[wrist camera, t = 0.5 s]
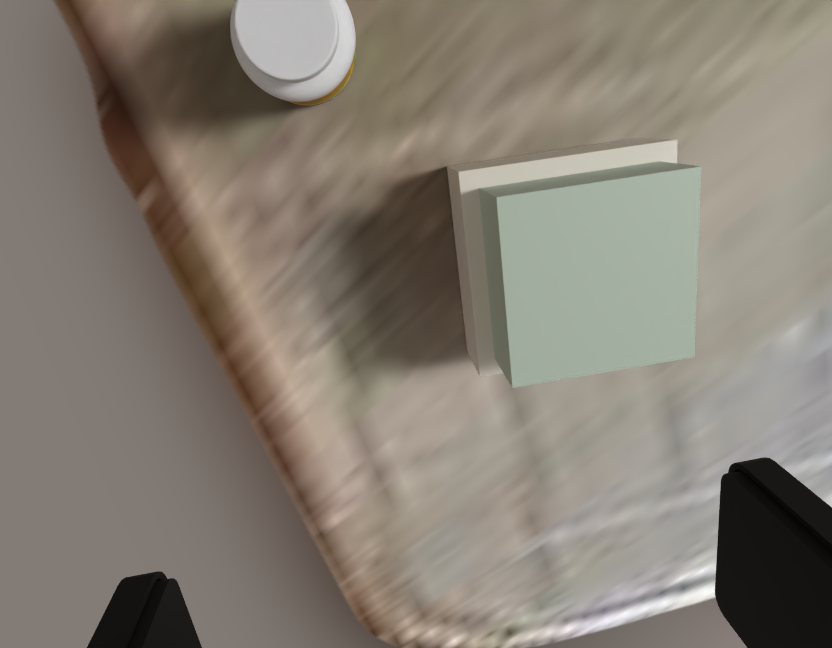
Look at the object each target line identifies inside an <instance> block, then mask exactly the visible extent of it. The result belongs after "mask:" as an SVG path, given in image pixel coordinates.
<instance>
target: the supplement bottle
mask: <svg viewBox="0 0 832 648" xmlns="http://www.w3.org/2000/svg"><path fill="white" fill-rule="evenodd" d="M230 33H231V41H232V45H233V49H234V52H235V55H236V57H237V59H238V61H239V63H240V65H241V67H242V69H243V70H244V71H245V73H246V74H247V75H248V77H249V78H250V79H251V80H252V81H253V82H254V83H255V84H256V85H257V86H258V87H260V88H261V89H262V90H264V91H265V92H267V93H268V94H270V95H272V96H274V97H276V98H278V99H281V100H284V101H288V102H291V103H294V104H297V105H303V106H313V105H319V104H322V103H325V102H327V101H329V100H331V99H333V98H334V97H336V96H337V95H338V94H339V93H340V92H341V91H342V90H343V89H344V88H345V86H346V85H347V83H348V81H349V80H350V77H351V75H352V72H353V68H354V64H355V28H354V22H353V18H352V15H351V12H350V10H349V7H348V5H347V3H346V1H345V0H236V1H235V3H234V6H233V9H232V13H231V21H230Z"/></svg>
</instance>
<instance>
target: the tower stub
mask: <svg viewBox="0 0 832 648" xmlns="http://www.w3.org/2000/svg"><path fill="white" fill-rule="evenodd" d="M447 173H448V182H449V191H450V200H451V209H452V218H453V227H454V236H455V245H456V254H457V263H458V272H459V281H460V290H461V299H462V308H463V317H464V326H465V335H466V344H467V352H468V354H469V356H470V358H471V360H472V362H473V364H474V366H475V368H476V370H477V372H478V374H479V376H480V377H481V376H487V375H493V374H499V373H504V375H505V376H506V378H507V380H508V381H509V383H510V385H511V386H512V388H515V387H521V386H527V385H533V384H539V383H544V382H550V381H556V380H562V379H568V378H574V377H580V376H586V375H592V374H598V373H604V372H609V371H615V370H621V369H627V368H633V367H639V366H645V365H651V364H657V363H663V362H669V361H674V360H680V359H686V358H692V357H694V352H695V324H696V296H697V268H698V241H699V213H700V185H701V166H694V165H686V164H678V163H677V139H658V138H637V139H630V140H623V141H616V142H609V143H603V144H596V145H589V146H582V147H575V148H569V149H562V150H555V151H548V152H541V153H535V154H528V155H521V156H514V157H507V158H501V159H494V160H487V161H480V162H473V163H467V164H460V165H453V166H447Z"/></svg>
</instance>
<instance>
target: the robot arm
mask: <svg viewBox="0 0 832 648" xmlns="http://www.w3.org/2000/svg"><path fill="white" fill-rule="evenodd" d="M715 596H716V600H717V603H718V606H719V608H720V610H721V612H722V614H723V615H724V617H725V618H726V619H727V621H728V622H729V623H730V625H731V626H732V628H733V629H734V630H735V632H736V633H737V634H738V636H739V637H740V638H741V640H742V641H743V642H744V644H745V645H746V646H747V648H832V507H830V506H829V505H828V504H827V503H825V502H824V501H823V500H822V499H820V498H819V497H818V496H817V495H816V494H814V493H813V492H812V491H811V490H809V489H808V488H807V487H806V486H804V485H803V484H802V483H801V482H800V481H798V480H797V479H796V478H795V477H793V476H792V475H791V474H790V473H788V472H787V471H786V470H785V469H784V468H782V467H781V466H780V465H779V464H777V463H776V462H775V461H773V460H772V459H770V458H765V457H764V458H759V459H754V460H749V461H743V462H738V463H734V464H732V465H731V466H730V468H729V472H728V473H727V474H724V475H723V476H722V479H721V491H720V510H719V528H718V547H717V565H716V583H715ZM87 648H202V647H201V644H200V641H199V639H198V636H197V633H196V631H195V628H194V625H193V623H192V620H191V617H190V614H189V612H188V609H187V606H186V604H185V601H184V598H183V596H182V593H181V590H180V587H179V585H178V583H177V581H176V580H175V579H172V578H171V579H167V578H166V576H165V574H163V572H153V573H148V574H142V575H137V576H132V577H126V578H124V579H123V580H121V582H120V583H119V585H118V586H117V589H116V591H115V593H114V594H113V596H112V599H111V601H110V603H109V605H108V607H107V609H106V611H105V613H104V615H103V617H102V619H101V621H100V623H99V625H98V627H97V629H96V631H95V633H94V635H93V637H92V639H91V641H90V643H89V645H88V647H87Z"/></svg>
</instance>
